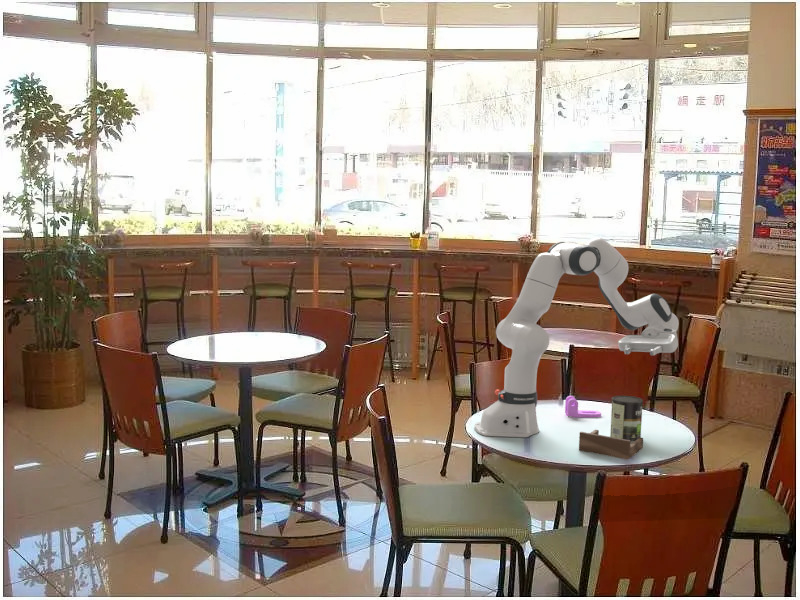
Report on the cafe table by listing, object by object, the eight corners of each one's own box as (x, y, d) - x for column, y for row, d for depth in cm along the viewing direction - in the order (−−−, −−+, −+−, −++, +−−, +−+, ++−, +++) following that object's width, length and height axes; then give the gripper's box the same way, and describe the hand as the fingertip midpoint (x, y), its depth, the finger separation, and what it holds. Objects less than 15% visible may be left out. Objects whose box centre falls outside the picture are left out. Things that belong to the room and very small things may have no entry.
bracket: (567, 417, 311) (568, 399, 310) (564, 413, 317) (565, 395, 316) (602, 418, 311) (603, 400, 310) (599, 414, 317) (600, 396, 316)
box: (594, 439, 283) (595, 422, 282) (642, 448, 274) (643, 430, 273) (578, 450, 270) (579, 432, 270) (628, 459, 261) (629, 441, 261)
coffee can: (643, 437, 286) (646, 397, 284) (636, 445, 277) (639, 404, 275) (614, 433, 291) (616, 393, 289) (606, 440, 282) (608, 399, 280)
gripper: (625, 329, 306) (609, 343, 296) (680, 330, 293) (665, 345, 283) (628, 344, 307) (612, 359, 297) (682, 346, 294) (668, 362, 284)
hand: (638, 352), depth 290 cm, fingers open, 8 cm apart
